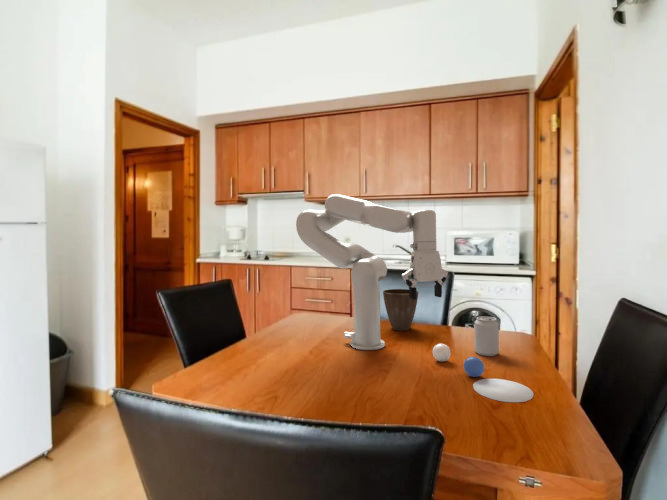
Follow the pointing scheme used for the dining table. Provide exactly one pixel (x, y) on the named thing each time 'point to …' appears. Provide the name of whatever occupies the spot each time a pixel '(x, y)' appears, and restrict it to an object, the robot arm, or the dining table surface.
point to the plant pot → (400, 308)
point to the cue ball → (441, 352)
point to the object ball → (473, 366)
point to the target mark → (503, 390)
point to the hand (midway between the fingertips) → (425, 297)
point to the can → (486, 336)
